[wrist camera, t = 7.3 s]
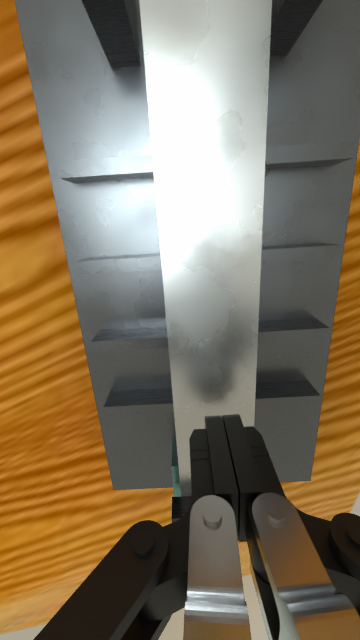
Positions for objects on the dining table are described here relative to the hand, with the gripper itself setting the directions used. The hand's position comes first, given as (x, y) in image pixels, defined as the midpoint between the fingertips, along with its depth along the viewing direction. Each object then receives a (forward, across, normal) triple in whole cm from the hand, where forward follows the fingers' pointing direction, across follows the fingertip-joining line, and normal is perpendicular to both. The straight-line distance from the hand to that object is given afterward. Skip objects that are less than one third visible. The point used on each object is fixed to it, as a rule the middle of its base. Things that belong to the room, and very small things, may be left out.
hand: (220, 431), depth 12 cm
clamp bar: (+3, 0, -4) cm, 5 cm away
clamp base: (+7, 0, -5) cm, 8 cm away
